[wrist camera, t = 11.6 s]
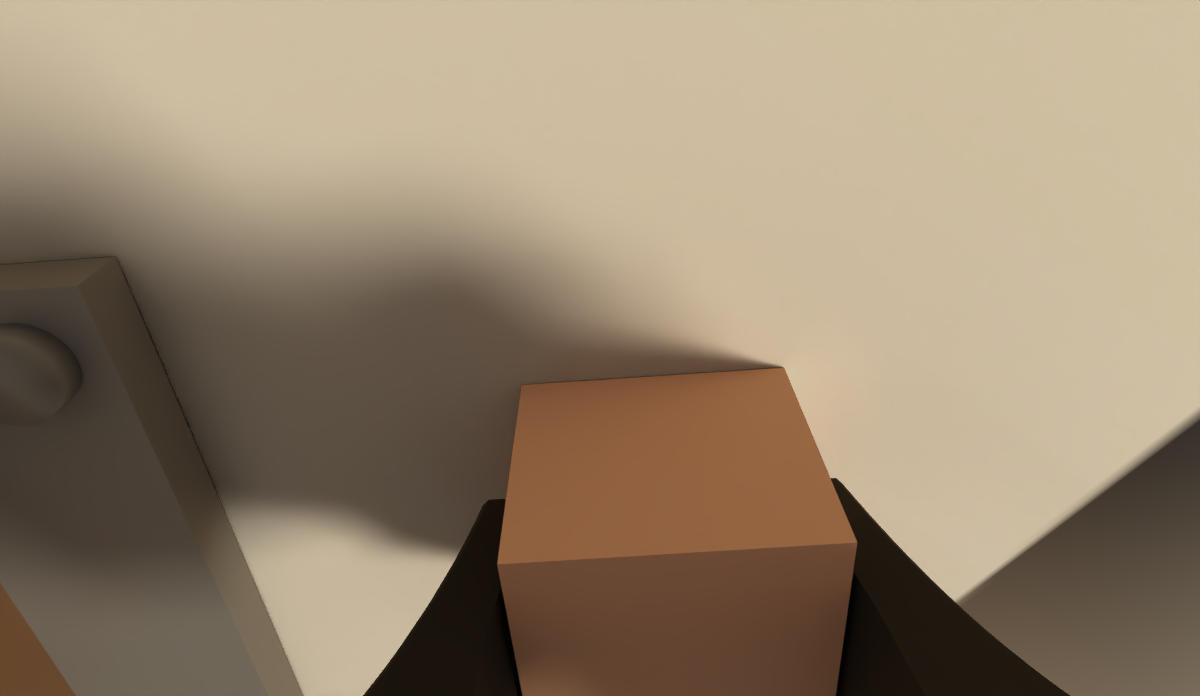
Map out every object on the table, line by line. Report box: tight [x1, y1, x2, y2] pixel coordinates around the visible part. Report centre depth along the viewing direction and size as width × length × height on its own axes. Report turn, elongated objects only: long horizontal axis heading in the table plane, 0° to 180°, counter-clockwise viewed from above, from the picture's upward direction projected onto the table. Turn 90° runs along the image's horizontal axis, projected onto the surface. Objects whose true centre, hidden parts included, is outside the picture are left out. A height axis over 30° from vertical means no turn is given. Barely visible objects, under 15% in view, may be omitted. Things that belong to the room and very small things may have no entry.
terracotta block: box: [497, 368, 857, 696], centre depth 12 cm, size 4×4×4 cm
